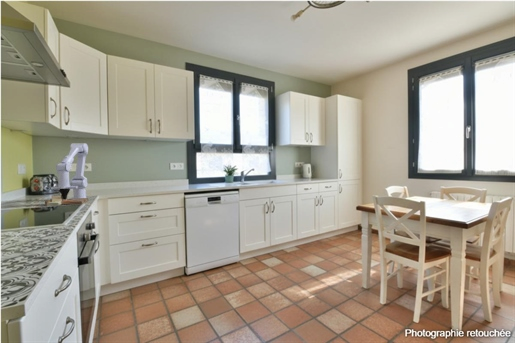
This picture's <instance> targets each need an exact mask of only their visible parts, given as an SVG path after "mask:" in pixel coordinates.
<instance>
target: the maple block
mask: <svg viewBox="0 0 515 343" xmlns="http://www.w3.org/2000/svg"><path fill="white" fill-rule="evenodd" d="M51 199H52V202H60V201H63V197H62V195H61V194H54V195H51Z"/></svg>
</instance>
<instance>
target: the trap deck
mask: <svg viewBox="0 0 515 343" xmlns="http://www.w3.org/2000/svg"><path fill="white" fill-rule="evenodd" d="M88 201H89V197H87V198H77V199H75V200H72V199H66V200H63V201H60V202H52V198H50V199H47V200H44V206H45V207H57V206H58V207H59V206H60V207H61V206H73V205H75V206H76V205H83V204H85V203H86V202H88Z"/></svg>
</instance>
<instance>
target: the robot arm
mask: <svg viewBox="0 0 515 343" xmlns="http://www.w3.org/2000/svg"><path fill="white" fill-rule="evenodd" d="M69 148H70V150H69V152H68V154H67V155H65V156H64V157H63V159H62V160H61V161H60V163H57V164H56V165H55V166H56V167H55V170H56V172H57V174H58V186H50V190H51V191H52V190H58V192H59V194H60V195H62V197H63V200H66V199H67V198H68V195H69V193H70V191H71V190H72V193H73V194H72V196H73V197H72V198H73V199H71V200H75V199H77V198H88V197H87V190H86V188H87V187H88V184H89V183H88V178H87V177H86V176H84V174H85V166H86V158H87V155H88V153H89V145H88V144H87V143H85V142H84V143H83V142H82V143H79V142H78V143H74V142H72V143H71V144H70V145H69ZM75 156H77V159H76V161H77V162H76V167H75V174H74V176H72V177H71V179H70V171H71V168H72V164H73V162H74V161H75ZM67 200H68V199H67Z"/></svg>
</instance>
